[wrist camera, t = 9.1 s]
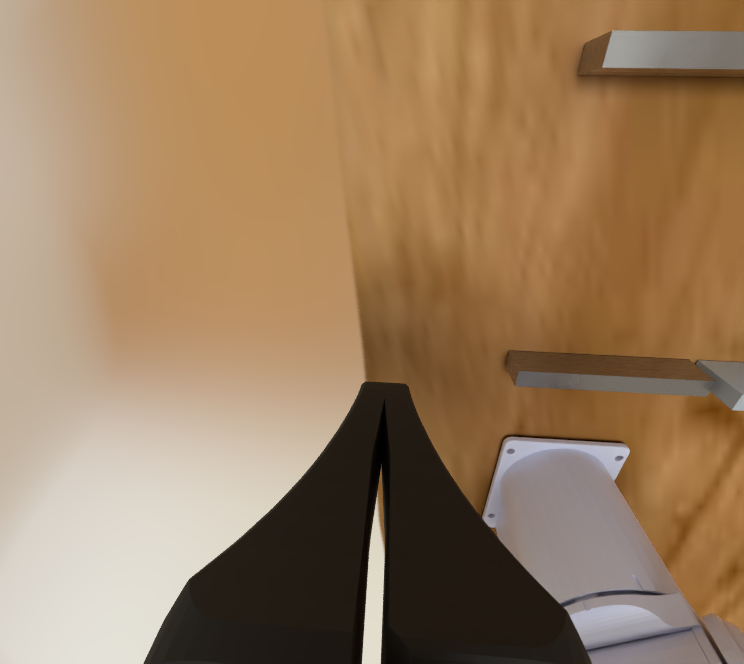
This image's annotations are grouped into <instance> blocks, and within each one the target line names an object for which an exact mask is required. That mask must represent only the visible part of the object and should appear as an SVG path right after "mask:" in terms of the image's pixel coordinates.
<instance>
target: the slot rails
mask: <svg viewBox="0 0 744 664" xmlns="http://www.w3.org/2000/svg"><path fill="white" fill-rule="evenodd" d="M577 75H608V76H685V77H744V32H729V31H611V32H608V33H606V34H604V35H602V36H600V37H597V38H595V39H593V40H591V41H589V42H587V43H585V46H584V50H583V54H582V58H581V62H580V66H579V70H578V74H577ZM506 367H507V370H508V372H509V374H510V376H511V378H512V381H513V383H514V385H515V386H523V387H541V388H559V389H578V390H596V391H614V392H633V393H651V394H669V395H688V396H706V397H707V396H708V394H709V392H710V391H711V389H712V387H713V386H714V384H715V383H716V381H715V380H714V379H713V378H711V377H710V376H709V375H708V374H706V373H705V372H704V371H702V370H701V369H700V368H699V367H697V366H696V365H695V364H694V363H692V362H691V361H690V360H685V359H665V358H645V357H625V356H605V355H585V354H565V353H545V352H525V351H509V353H508V357H507V361H506Z"/></svg>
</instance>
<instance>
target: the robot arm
mask: <svg viewBox="0 0 744 664" xmlns="http://www.w3.org/2000/svg"><path fill="white" fill-rule="evenodd" d="M508 449H510V450H508ZM629 453H630V450H629V448H628V447H627V445H625V444H622V443H607V442H590V441H574V440H558V439H541V438H525V437H508V438H506V439H505V440H504V441H503V445H502V448H501V452H500V455H499V459H498V462H497V466H496V469H495V473H494V477H493V480H492V484H491V487H490V491H489V494H488V498H487V501H486V505H485V509H484V512H483V516H482V518H481V516H480V515H479V514H478V513H477V512H476V510H475V509H474V508H473V506H472V505H471V504H470V502H469V501H468V499H467V498H466V497H465V495H464V494H463V493H462V491H461V490H460V488H459V487H458V485H457V484H456V482H455V481H454V479H453V478H452V476H451V475H450V473H449V472H448V470H447V469H446V467H445V465H444V464H443V462H442V460H441V459H440V457H439V455H438V453H437V452H436V450H435V448H434V446H433V445H432V443H431V441H430V439H429V437H428V435H427V433H426V431H425V429H424V427H423V425H422V423H421V420H420V418H419V416H418V413H417V411H416V409H415V406H414V403H413V401H412V398H411V394H410V391H409V387H408V386H407V385H406V384H400V383H382V382H364V383H363V384H362V385H361V388H360V391H359V393H358V396H357V398H356V400H355V402H354V404H353V406H352V407H351V409H350V411H349V413H348V414H347V416H346V418H345V420H344V421H343V423H342V424H341V426H340V428H339V429H338V431H337V432H336V434H335V435H334V436H333V438H332V439H331V441H330V442H329V443H328V445H327V446H326V448H325V449H324V451H323V452H322V453H321V455H320V456H319V457H318V458H317V460H316V461H315V462H314V464H313V465H312V466H311V467H310V468H309V469H308V471H307V472H306V473H305V474H304V475H303V477H302V478H301V479H300V480H299V481H298V482H297V483H296V484H295V485H294V487H292V489H291V490H290V491H289V492H288V493H287V494H286V495H285V496H284V497H283V498H282V499H281V500H280V501H279V502H278V503H277V504H276V505H275V506H274V507H273V508H272V509H271V510H270V511H269V512H268V513H267V514H266V515H265V516H264V517H263V518H261V519H260V520H259V521H258V522H257V523H256V524H255V525H254V526H253V527H252V528H251V529H249V530H248V531H247V532H246V533H245V534H244V535H243V536H242V537H241V538H239V539H238V540H237V541H236V542H235V543H234V544H232V545H231V546H230V547H229V548H227V549H226V550H225V551H224V552H223V553H221V554H220V555H219V556H218V557H216V558H215V559H214V560H213V561H211V562H210V563H209V564H208V565H206V566H205V567H204V568H203V569H201V570H200V571H199V572H198V573H196V574H195V575H194V576H192V577H191V578H190V579H189V580H188V582H187V583H186V585H185V587H184V588H183V590H182V591H181V593H180V595H179V596H178V598H177V600H176V601H175V603H174V605H173V607H172V608H171V610H170V611H169V613H168V615H167V616H166V618H165V620H164V622H163V624H162V626H161V628H160V630H159V632H158V634H157V636H156V638H155V640H154V643H153V645H152V647H151V649H150V651H149V654H148V655H147V657H146V660H145V662H144V664H362V651H363V635H364V620H365V604H366V589H367V573H368V559H369V547H370V538H371V530H372V523H373V516H374V510H375V504H376V497H377V490H378V484H379V477H380V470H381V463H382V484H383V506H384V528H385V566H384V594H383V621H382V622H383V623H382V648H381V664H744V634H743V632H742V631H741V630H740V628H738V627H737V626H735V625H733V624H731V623H729V622H727V621H723V620H722V619H721V618H720V617H719V616H718V615H716V614H713V613H711V614H708V615H705V616H702V619H703V621H704V622H703V621H702V620H701V618H700V617H699V616H698V614H697V613H696V612H695V611H694V609H693V608H692V607H691V605H690V604H689V603H688V601H687V600H686V599H685V597H684V595H683V594H682V592H681V590H680V589H679V587H678V585H677V584H676V582H675V581H674V579H673V577H672V576H671V574H670V572H669V571H668V569H667V567H666V566H665V564H664V563H663V561H662V559H661V558H660V556H659V554H658V553H657V551H656V549H655V548H654V546H653V544H652V543H651V541H650V540H649V538H648V536H647V535H646V533H645V531H644V530H643V528H642V526H641V525H640V523H639V522H638V520H637V518H636V517H635V515H634V513H633V512H632V510H631V508H630V507H629V505H628V503H627V502H626V500H625V499H624V497H623V495H622V494H621V492H620V490H619V489H618V487H617V485H616V484H615V482H614V481H615V479H616V477H617V475H618V473H619V471H620V469H621V468H622V466H623V464H624V462H625V460H626V458H627V456H628V455H629ZM490 527H493V528H496V532H497V536H498V537H497V536H496V535H495V533H494V532H493V531H492V530H491V529H490ZM704 623H705V624H704Z"/></svg>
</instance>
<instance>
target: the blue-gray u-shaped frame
mask: <svg viewBox="0 0 744 664" xmlns="http://www.w3.org/2000/svg"><path fill="white" fill-rule="evenodd" d="M696 366H697V367H699V368H700V369H701V370H702V371H704V372H705V373H706V374H708V375H709V376H710V377H711V378H713V379H714V380H715V381H716V383H715V384H714V386H713V387H712V389H711V391H710V392H711V393H712V394H714V395H715V396H716V397H717V398H718V399H720V400H721V401H722V402H723V403H724V404H725V405H727V406H728V407H729V408H730V409H731V410H741V411H744V362H725V361H705V360H698V361H697V363H696Z"/></svg>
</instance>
